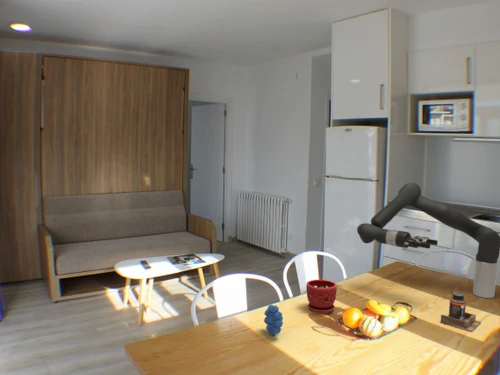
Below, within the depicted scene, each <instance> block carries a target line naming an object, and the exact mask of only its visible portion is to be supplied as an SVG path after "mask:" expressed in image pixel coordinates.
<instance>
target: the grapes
mask: <svg viewBox="0 0 500 375" xmlns="http://www.w3.org/2000/svg"><path fill="white" fill-rule="evenodd" d="M264 316H265V318H264V319H263V323H265V324H266V327H265V329H266V331H267V332H269V334H270V335H271V336H276V335H278V334H280V333H281V331H282V327H283V324H284V322H283V320H284V317H283V313H282V312H281V311H280V308H279V307H278V306H277V305H273V304H269V305H268V306H267V309H266V310H265V311H264Z"/></svg>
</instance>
